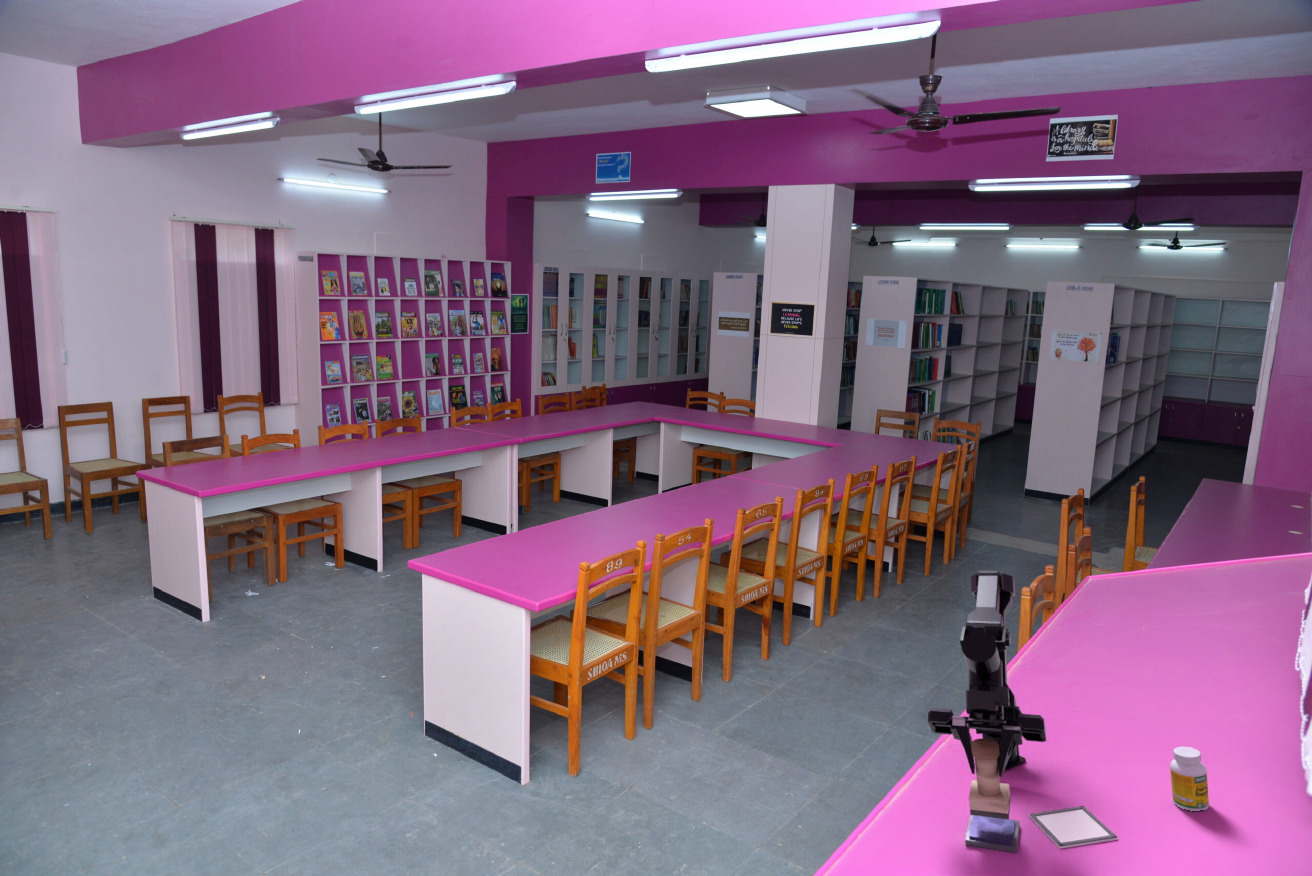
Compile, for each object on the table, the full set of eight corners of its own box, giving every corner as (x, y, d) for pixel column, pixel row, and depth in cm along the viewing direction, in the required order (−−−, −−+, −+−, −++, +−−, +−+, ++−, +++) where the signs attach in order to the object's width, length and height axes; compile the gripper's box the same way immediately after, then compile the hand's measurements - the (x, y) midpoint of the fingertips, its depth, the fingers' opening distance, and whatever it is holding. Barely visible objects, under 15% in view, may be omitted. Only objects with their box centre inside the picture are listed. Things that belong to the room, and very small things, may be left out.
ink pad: (970, 820, 148) (970, 812, 148) (1019, 826, 144) (1019, 818, 144) (965, 845, 141) (964, 837, 141) (1017, 852, 137) (1016, 844, 137)
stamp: (973, 796, 146) (967, 734, 145) (1010, 800, 144) (1004, 737, 143) (970, 814, 141) (964, 751, 140) (1008, 819, 138) (1002, 754, 137)
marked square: (1028, 816, 147) (1028, 813, 147) (1083, 808, 147) (1083, 805, 147) (1059, 848, 137) (1059, 845, 137) (1118, 839, 137) (1118, 836, 137)
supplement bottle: (1181, 793, 148) (1178, 741, 147) (1215, 804, 144) (1211, 751, 143) (1166, 804, 145) (1162, 752, 145) (1200, 816, 141) (1196, 762, 140)
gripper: (924, 664, 148) (921, 753, 139) (1039, 669, 140) (1044, 764, 131) (934, 689, 155) (931, 774, 147) (1044, 695, 147) (1048, 786, 138)
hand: (986, 774), depth 140 cm, fingers closed on stamp, 4 cm apart
